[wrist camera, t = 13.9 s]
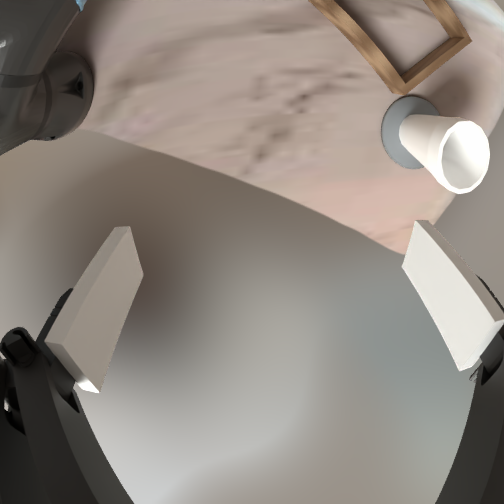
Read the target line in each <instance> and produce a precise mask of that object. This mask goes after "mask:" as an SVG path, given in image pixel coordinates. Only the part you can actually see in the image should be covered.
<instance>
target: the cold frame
mask: <svg viewBox="0 0 504 504" xmlns="http://www.w3.org/2000/svg"><path fill="white" fill-rule="evenodd" d="M308 1H309V2H310V3H312V4H313V5H314V6H315V7H316V8H317V9H318V10H319V11H320V12H321V13H323V14H324V15H325V16H326V17H327V18H328V19H329V20H330V21H331V22H332V23H333V24H334V25H335V26H336V27H337V28H338V29H339V30H340V31H341V32H342V33H343V34H344V35H345V36H346V38H347V39H348V40H349V41H350V42H351V43H352V44H353V45H354V46H355V47H356V48H357V50H358V51H359V52H360V53H361V54H362V55H363V57H364V58H365V59H366V60H367V61H368V62H369V64H370V65H371V66H372V67H373V69H374V70H375V71H376V72H377V74H378V75H379V76H380V77H381V79H382V80H383V81H384V83H385V84H386V85H387V87H388V88H389V89H390V91H391V92H392V93H395V94H400V95H406V94H407V93H408V92H409V91H411V90H412V89H413V88H414V87H416V86H417V85H418V84H419V83H420V82H422V81H423V80H424V79H425V78H427V77H428V76H429V75H430V74H432V73H433V72H434V71H435V70H437V69H438V68H439V67H440V66H441V65H443V64H444V63H445V62H446V61H448V60H449V59H450V58H452V57H453V56H454V55H455V54H457V53H458V52H459V51H460V50H462V49H463V48H464V47H465V46H467V45H468V44H469V43H471V42H472V40H471V38H470V37H469V35H468V33H467V32H466V30H465V29H464V27H463V25H462V24H461V22H460V21H459V19H458V18H457V16H456V15H455V13H454V12H453V11H452V9H451V8H450V6H449V5H448V4H447V2H446V1H445V0H423V1H424V2H425V3H426V4H427V6H428V7H429V8H430V10H431V11H432V12H433V14H434V15H435V16H436V18H437V19H438V20H439V22H440V23H441V25H442V26H443V28H444V29H445V31H446V32H447V33H448V35H449V37H450V39H449V40H447V41H446V42H445V43H443V44H442V45H441V46H439V47H438V48H437V49H435V50H434V51H433V52H431V53H430V54H429V55H427V56H426V57H425V58H423V59H422V60H421V61H420V62H418V63H417V64H416V65H414V66H413V67H412V68H411V69H409V70H408V71H407V72H406V73H404V74H403V75H402V76H401V77H400V76H399V74H398V73H397V71H396V70H395V69H394V67H393V66H392V65H391V63H390V62H389V61H388V60H387V58H386V57H385V56H384V55H383V53H382V52H381V51H380V50H379V48H378V47H377V46H376V45H375V44H374V42H373V41H372V40H371V39H370V38H369V37H368V35H367V34H366V33H365V32H364V31H363V30H362V29H361V28H360V27H359V26H358V24H357V23H356V22H355V21H354V20H353V19H352V18H351V17H350V16H349V15H348V14H347V13H346V12H345V11H344V10H343V9H342V8H341V7H340V6H339V5H338V4H337V3H336V2H335V1H334V0H308Z"/></svg>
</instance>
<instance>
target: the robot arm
mask: <svg viewBox="0 0 504 504" xmlns="http://www.w3.org/2000/svg"><path fill="white" fill-rule="evenodd" d="M86 1H87V0H0V155H2V154H4V153H5V152H7V151H9V150H11V149H13V148H15V147H17V146H19V145H21V144H23V143H25V142H27V141H29V140H44V141H52V140H56V139H59V138H62V137H64V136H66V135H68V134H70V133H71V132H73V131H74V130H75V129H76V128H77V127H78V126H79V125H80V124H81V123H82V121H83V120H84V118H85V117H86V115H87V113H88V111H89V108H90V105H91V101H92V97H93V78H92V74H91V70H90V68H89V66H88V64H87V63H86V61H85V60H84V59H83V58H82V57H81V56H79V55H78V54H76V53H73V52H67V51H58V52H55V51H56V49H57V47H58V46H59V44H60V42H61V40H62V39H63V37H64V35H65V34H66V32H67V30H68V29H69V27H70V26H71V24H72V23H73V21H74V19H75V18H76V16H77V15H78V14H79V12H81V11H82V10H83V8H84V4H85V3H86ZM402 268H403V269H404V271H405V273H406V274H407V276H408V277H409V279H410V281H411V282H412V284H413V285H414V287H415V289H416V290H417V292H418V294H419V295H420V297H421V299H422V300H423V302H424V304H425V306H426V307H427V309H428V311H429V313H430V315H431V316H432V318H433V320H434V322H435V324H436V325H437V327H438V329H439V331H440V333H441V335H442V337H443V339H444V340H445V343H446V345H447V346H448V349H449V351H450V353H451V355H452V357H453V359H454V361H455V363H456V365H457V367H458V369H459V371H461V370H464V369H466V368H470V367H472V366H473V364H474V363H475V362H476V361H477V360H478V359H479V357H480V358H481V360H482V363H481V364H480V366H479V367H478V368H477V369H476V370H475V372H474V373H473V374H472V375H471V377H470V379H469V380H470V381H471V380H472V379H473V378H474V377H475V375H477V378H476V380H475V381H474V382H475V383H476V385H475V390H474V394H473V399H472V403H471V407H470V411H469V415H468V419H467V422H466V426H465V429H464V433H463V436H462V439H461V442H460V446H459V448H458V451H457V454H456V457H455V459H454V462H453V465H452V468H451V470H450V473H449V475H448V477H447V480H446V482H445V484H444V486H443V488H442V491H441V493H440V495H439V497H438V499H437V501H436V503H435V504H504V308H503V307H502V305H501V304H500V302H499V301H498V299H497V298H495V297H494V294H493V293H492V291H490V289H489V287H488V286H487V285H486V283H485V282H484V281H483V280H482V279H481V278H480V277H478V276H477V275H476V274H475V273H474V272H473V271H472V270H471V268H470V267H469V266H468V265H467V264H466V262H465V261H464V260H463V259H462V258H461V256H460V255H459V254H458V253H457V252H456V251H455V250H454V248H453V247H452V246H451V245H450V244H449V243H448V242H447V240H446V239H445V238H444V237H443V236H442V235H441V234H440V233H439V232H438V231H437V230H436V229H435V228H434V226H433V225H432V224H431V223H430V222H429V221H428V220H415V224H414V228H413V232H412V235H411V239H410V242H409V246H408V249H407V252H406V256H405V259H404V262H403V265H402ZM142 278H143V272H142V268H141V265H140V262H139V258H138V255H137V251H136V248H135V244H134V241H133V237H132V233H131V229H130V226H127V227H115V228H114V230H113V231H112V232H111V234H110V235H109V237H108V238H107V239H106V241H105V242H104V244H103V245H102V246H101V248H100V250H99V251H98V252H97V254H96V255H95V257H94V258H93V260H92V261H91V263H90V264H89V266H88V267H87V269H86V270H85V272H84V273H83V275H82V276H81V278H80V280H79V281H78V283H77V284H76V286H75V288H74V289H73V288H70V289H69V290H68V291H66V292H65V293H64V294H63V295H62V296H61V297H60V299H59V301H58V302H57V304H56V306H55V308H54V309H53V311H52V313H51V314H50V315H51V316H50V317H48V319H47V321H46V323H45V325H44V326H43V328H42V330H41V332H40V334H39V336H38V337H37V340H36V341H34V340H33V338H32V337H31V336H30V334H29V333H28V331H27V330H26V329H24V328H22V327H17V328H14V329H12V330H10V331H9V332H8V333H7V334H6V335H5V336H4V337H3V338H2V341H1V343H0V352H1V353H2V354H3V355H4V356H5V358H6V359H2V358H1V356H0V504H134V503H133V501H132V500H131V498H130V497H129V495H128V494H127V492H126V491H125V489H124V488H123V486H122V484H121V483H120V481H119V479H118V478H117V476H116V474H115V473H114V471H113V469H112V468H111V466H110V464H109V462H108V460H107V459H106V457H105V455H104V453H103V451H102V449H101V447H100V445H99V443H98V441H97V439H96V437H95V435H94V433H93V431H92V429H91V427H90V424H89V422H88V420H87V418H86V415H85V413H84V411H83V408H82V406H81V403H80V401H79V398H78V396H77V393H76V392H75V390H74V389H73V386H74V384H75V381H76V382H77V383H78V385H79V386H80V387H81V388H82V389H83V390H88V391H92V392H97V393H100V391H101V388H102V385H103V381H104V378H105V375H106V372H107V369H108V366H109V363H110V360H111V357H112V354H113V352H114V348H115V346H116V343H117V340H118V338H119V335H120V332H121V330H122V327H123V324H124V321H125V319H126V317H127V314H128V311H129V309H130V306H131V304H132V302H133V299H134V296H135V294H136V292H137V289H138V287H139V284H140V282H141V280H142ZM4 402H5V403H7V404H8V411H6V410H5V409H4Z"/></svg>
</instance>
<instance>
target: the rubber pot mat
mask: <svg viewBox="0 0 504 504" xmlns="http://www.w3.org/2000/svg"><path fill="white" fill-rule="evenodd" d="M415 114H421V115H433V116H440V114H439V113H438V111H437V110H436V108H435V107H434V106H433V105H432V104H431V103H429V102H428V101H426V100H424V99H422V98H418V97H413V96H408V97H403V98H400V99H398V100H397V101H395V102H394V103H393V104H392V105H391V106H390V107H389V108H388V109H387V111H386V113H385V115H384V117H383V121H382V126H381V137H382V142H383V145H384V148H385V150H386V152H387V154H388V155H389V156H390V158H391V159H392V160H393V161H395V162H396V163H397V164H399V165H401V166H402V167H405V168H408V169H419V168H423V167H425V166H424V165H422V164H421V163H420V162H419V161H418V160H417V159H416V158H415V157H414V156H413V155H412V154H411V153H410V152H409V151H408V150H407V149H406V148H405V147H404V146H403V145H402V144H401V140H400V137H399V129H400V125H401V123H402V121H403V120H404V119H405V118H406V117H408V116H409V115H415Z"/></svg>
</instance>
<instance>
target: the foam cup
mask: <svg viewBox="0 0 504 504" xmlns="http://www.w3.org/2000/svg"><path fill="white" fill-rule="evenodd" d="M399 137H400V140H401V144H402V145H403V146H404V147H405V148H406V149H407V150H408V151H409V152H410V153H411V154H412V155H413V156H414V157H415V158H416V159H417V160H418V161H419V162H420V163H421V164H422V165H424V166H425V167H426V168H427V169H428V170H429V171H430V172H431V173H432V174H433V176H434V177H435V178H436V180H437V181H438V182H439V183H440V184H441V185H443V186H444V187H445V188H447V189H448V190H450V191H453V192H455V193H457V194H462V193H466V192H470V191H472V190H473V189H474V188H475V187H476V186H477V185H479V184H480V183H481V181H482V179H483V177H484V175H485V174H486V172H487V169H488V164H489V157H490V152H489V144H488V139H487V137H486V136H485V134H484V132H483V130H482V128H481V127H479V126H478V125H476V124H475V123H473V122H472V121H470V120H467V119H464V118H461V117H443V116H433V115H421V114H415V115H409V116H408V117H406V118H405V119H404V120H403V121H402V123H401V125H400V129H399Z"/></svg>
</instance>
